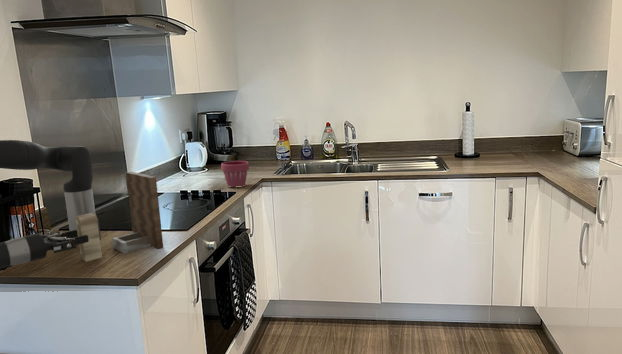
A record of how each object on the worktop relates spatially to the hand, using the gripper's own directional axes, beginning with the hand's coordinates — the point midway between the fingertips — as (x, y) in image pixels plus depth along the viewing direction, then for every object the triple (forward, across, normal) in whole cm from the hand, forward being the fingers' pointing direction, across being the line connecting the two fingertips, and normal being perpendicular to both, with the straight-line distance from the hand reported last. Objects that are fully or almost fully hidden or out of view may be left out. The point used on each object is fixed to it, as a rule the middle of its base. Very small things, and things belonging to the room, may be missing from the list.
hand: (82, 235), depth 149 cm
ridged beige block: (+2, 0, +8) cm, 8 cm away
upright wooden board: (+16, 0, +8) cm, 18 cm away
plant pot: (+96, +51, +9) cm, 109 cm away
